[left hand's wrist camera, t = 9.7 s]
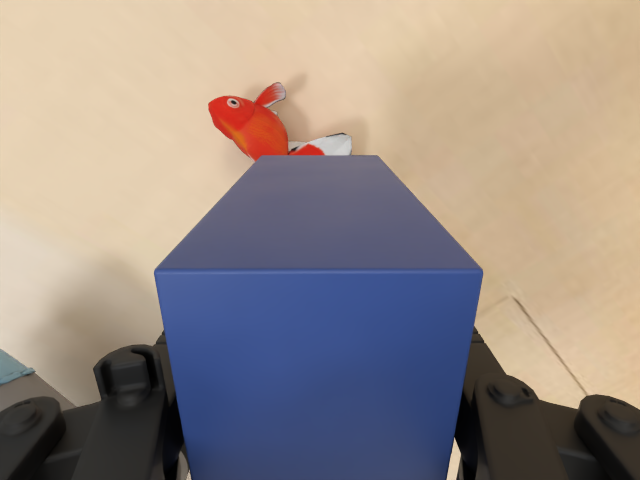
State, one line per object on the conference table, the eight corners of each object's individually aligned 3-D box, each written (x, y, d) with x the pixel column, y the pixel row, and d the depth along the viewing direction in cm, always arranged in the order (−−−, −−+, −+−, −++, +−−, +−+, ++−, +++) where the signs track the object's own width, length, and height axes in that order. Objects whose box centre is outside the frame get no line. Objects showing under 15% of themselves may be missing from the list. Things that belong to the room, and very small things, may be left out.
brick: (368, 328, 19) (425, 605, 9) (270, 329, 19) (213, 605, 9) (378, 155, 16) (485, 270, 6) (260, 155, 16) (151, 269, 6)
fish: (295, 19, 29) (281, 91, 24) (381, 152, 40) (386, 225, 34) (201, 84, 34) (170, 157, 29) (299, 187, 45) (292, 256, 39)
